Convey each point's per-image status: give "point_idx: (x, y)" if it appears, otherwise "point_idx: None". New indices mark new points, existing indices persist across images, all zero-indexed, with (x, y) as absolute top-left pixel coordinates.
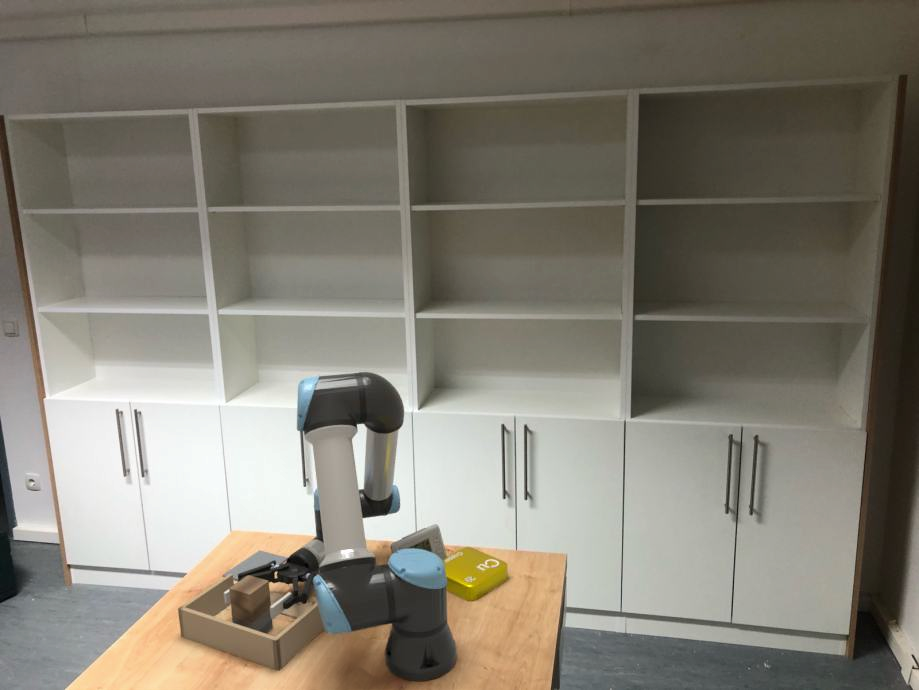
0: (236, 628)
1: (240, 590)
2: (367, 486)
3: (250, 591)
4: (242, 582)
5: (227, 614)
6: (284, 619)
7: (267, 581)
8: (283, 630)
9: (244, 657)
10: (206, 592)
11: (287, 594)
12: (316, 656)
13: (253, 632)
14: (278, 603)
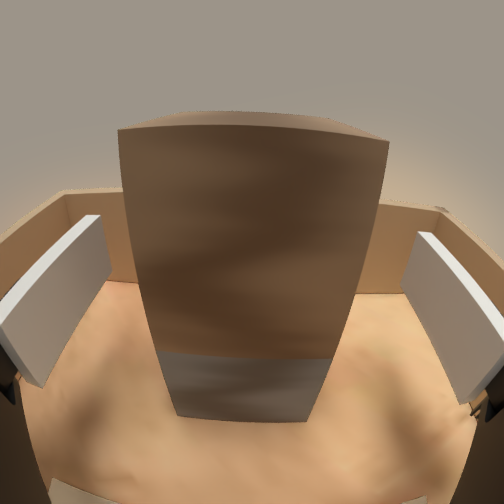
0: None
1: (256, 112)
2: None
3: (194, 112)
4: (319, 122)
5: (435, 400)
6: (160, 485)
7: (126, 128)
8: (43, 207)
9: None
10: (495, 262)
11: (11, 301)
12: None
13: None
14: (61, 239)
